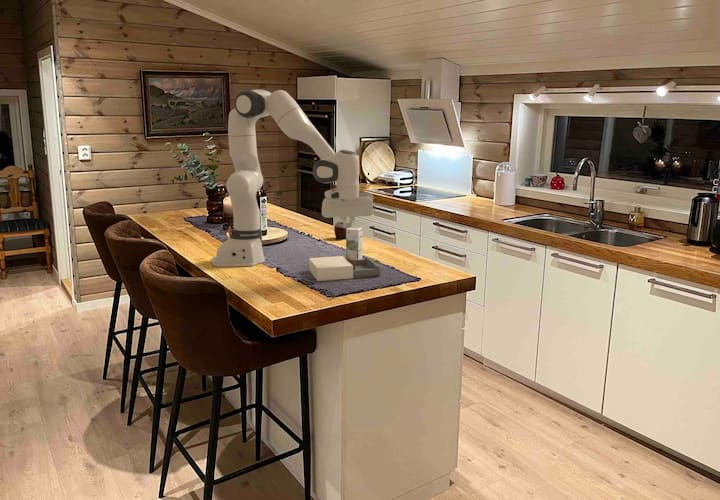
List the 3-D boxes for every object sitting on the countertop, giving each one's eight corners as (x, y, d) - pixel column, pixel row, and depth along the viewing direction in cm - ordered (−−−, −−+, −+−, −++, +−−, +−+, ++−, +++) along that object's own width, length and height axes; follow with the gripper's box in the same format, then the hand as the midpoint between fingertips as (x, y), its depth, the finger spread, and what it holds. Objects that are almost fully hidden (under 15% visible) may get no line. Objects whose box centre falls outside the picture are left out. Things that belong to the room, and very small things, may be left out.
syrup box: (362, 259, 262) (363, 226, 258) (358, 262, 256) (358, 229, 253) (350, 258, 264) (350, 225, 260) (345, 261, 258) (345, 228, 255)
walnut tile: (350, 260, 238) (355, 259, 238) (347, 257, 242) (351, 256, 243) (350, 272, 239) (355, 272, 239) (347, 269, 243) (351, 268, 244)
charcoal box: (353, 278, 234) (353, 268, 233) (343, 267, 249) (343, 258, 248) (379, 276, 237) (379, 266, 236) (367, 265, 252) (367, 256, 251)
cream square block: (317, 281, 230) (317, 268, 229) (309, 270, 245) (308, 258, 243) (353, 278, 234) (353, 265, 232) (342, 267, 249) (342, 255, 247)
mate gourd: (333, 240, 299) (332, 210, 295) (336, 236, 306) (336, 207, 303) (347, 240, 297) (347, 210, 294) (350, 237, 305) (351, 208, 301)
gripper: (370, 191, 239) (370, 225, 243) (320, 192, 234) (320, 227, 237) (375, 193, 233) (375, 228, 237) (324, 194, 228) (324, 230, 231)
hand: (347, 227), depth 237 cm, fingers closed
